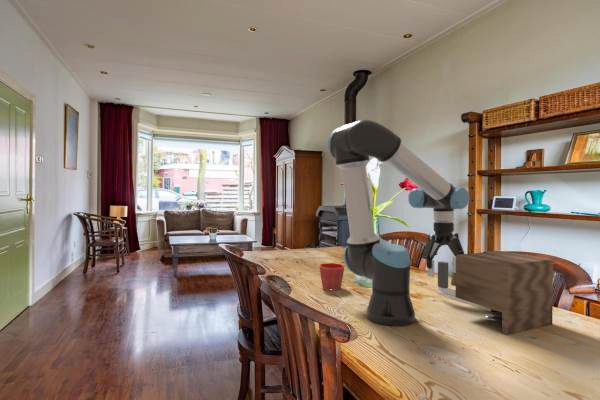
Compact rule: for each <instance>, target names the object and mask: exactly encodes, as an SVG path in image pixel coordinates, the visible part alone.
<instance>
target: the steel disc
mask: <svg viewBox="0 0 600 400" xmlns="http://www.w3.org/2000/svg"><path fill="white" fill-rule="evenodd" d="M484 318H485V320H488V321H492V322H502V315H499V314H495V313H485V314H484Z"/></svg>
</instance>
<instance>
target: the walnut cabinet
mask: <svg viewBox="0 0 600 400" xmlns="http://www.w3.org/2000/svg"><path fill="white" fill-rule="evenodd" d="M553 285H554V259H552V258H546V257H540V256H535V255H527V254H521V253H513V252H508V251H503V250H502V251H501V250H495V251H485V252H476V253H475V252H474V253H464V254H461V255H456V286H455V290H456V298H459V299H462V300H465V301H468V302H471V303H474V304H478V305H481V306H484V307H487V308H490V309H493V310H496V312H500V313H501V317H502V321H501V334H502V335H506V336H508V335H513V334H517V333H521V332H524V331H530V330H533V329H538V328H542V327H546V326H550V325H553V310H554V309H553V302H554V300H553V296H554V295H553V293H554V292H553V291H554V288H553V287H554V286H553Z"/></svg>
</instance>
